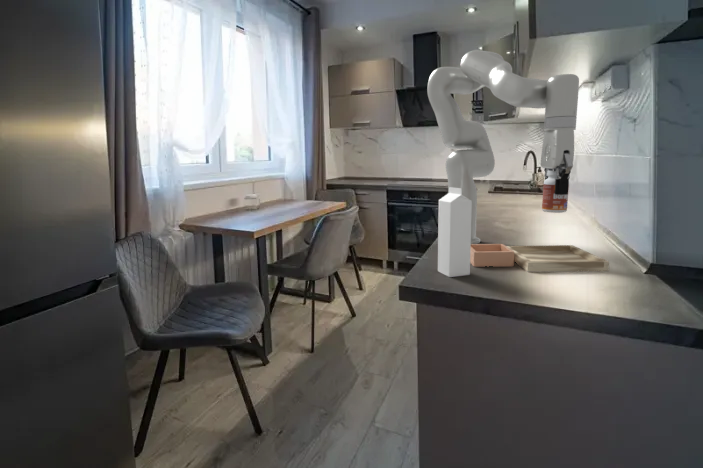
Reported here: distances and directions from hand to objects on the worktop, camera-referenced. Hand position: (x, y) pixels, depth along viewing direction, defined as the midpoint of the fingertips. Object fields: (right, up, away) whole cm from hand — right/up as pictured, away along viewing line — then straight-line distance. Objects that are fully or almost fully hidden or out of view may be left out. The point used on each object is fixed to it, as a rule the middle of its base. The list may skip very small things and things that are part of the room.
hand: (555, 192), depth 113 cm
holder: (-16, -19, +5) cm, 26 cm away
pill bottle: (0, -5, +1) cm, 5 cm away
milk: (-29, -22, -5) cm, 36 cm away
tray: (+1, -19, +3) cm, 19 cm away
